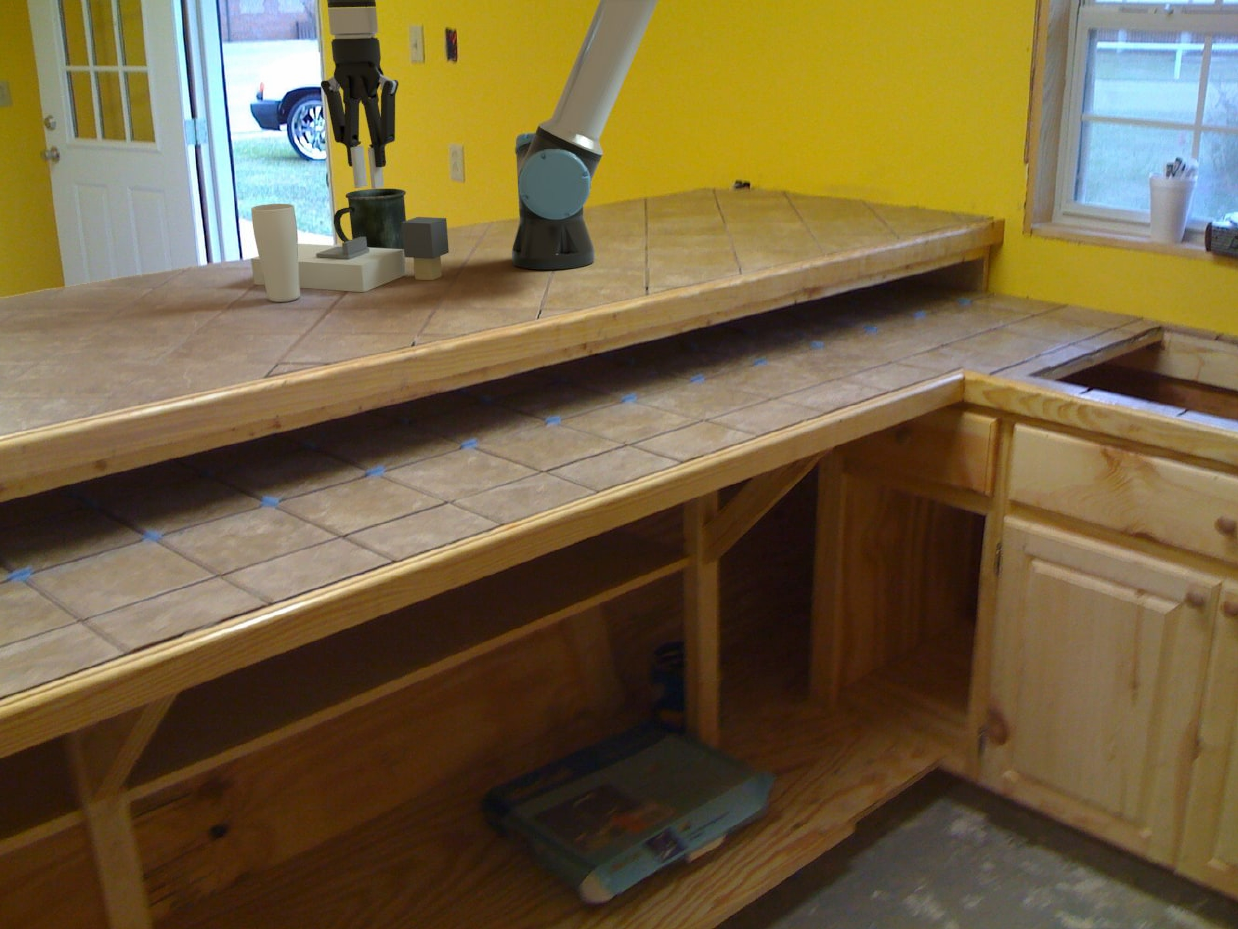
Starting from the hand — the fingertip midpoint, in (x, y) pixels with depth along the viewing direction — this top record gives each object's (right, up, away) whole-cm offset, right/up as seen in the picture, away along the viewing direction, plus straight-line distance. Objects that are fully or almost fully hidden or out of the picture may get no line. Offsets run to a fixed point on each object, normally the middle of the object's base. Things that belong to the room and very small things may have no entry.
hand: (369, 186), depth 197 cm
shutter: (-6, -10, +8) cm, 14 cm away
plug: (+8, -13, +11) cm, 19 cm away
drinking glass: (-13, -19, -2) cm, 24 cm away
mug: (-5, -7, +28) cm, 30 cm away
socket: (-9, -14, +11) cm, 20 cm away
